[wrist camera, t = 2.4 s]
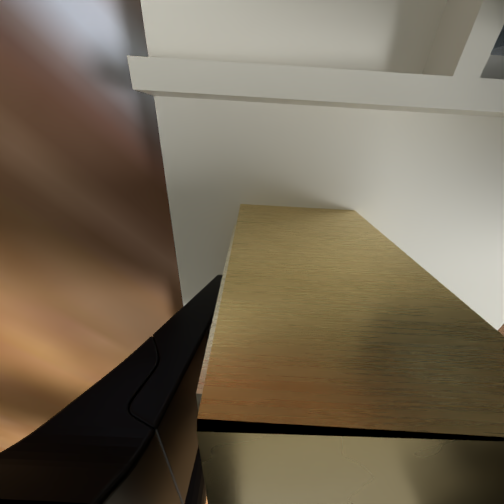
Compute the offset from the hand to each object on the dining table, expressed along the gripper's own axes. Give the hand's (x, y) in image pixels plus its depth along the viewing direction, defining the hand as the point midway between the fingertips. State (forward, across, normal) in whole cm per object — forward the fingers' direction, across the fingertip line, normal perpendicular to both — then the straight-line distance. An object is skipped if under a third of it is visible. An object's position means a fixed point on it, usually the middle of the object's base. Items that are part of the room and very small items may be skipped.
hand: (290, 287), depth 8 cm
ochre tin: (+1, 0, 0) cm, 1 cm away
